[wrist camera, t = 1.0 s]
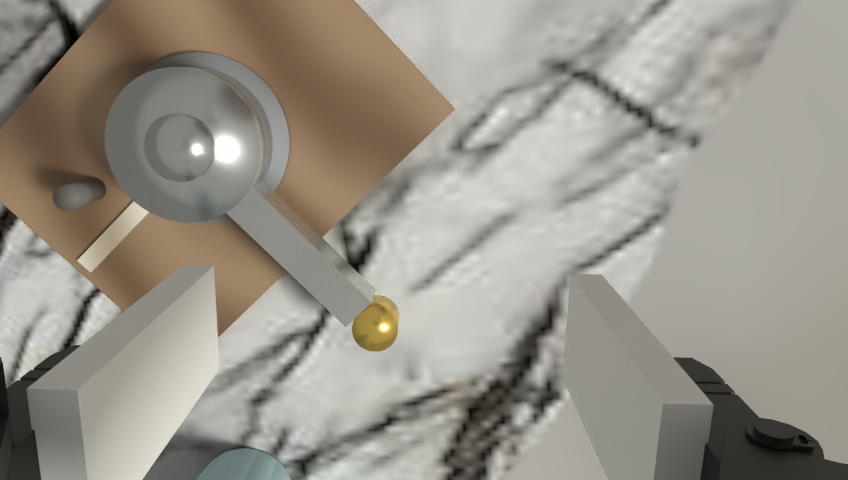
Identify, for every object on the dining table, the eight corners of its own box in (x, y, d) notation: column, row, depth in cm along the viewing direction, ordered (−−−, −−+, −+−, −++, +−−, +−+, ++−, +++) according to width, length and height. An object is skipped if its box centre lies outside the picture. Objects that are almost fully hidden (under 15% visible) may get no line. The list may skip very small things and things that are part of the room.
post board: (237, -126, 32) (210, -154, 28) (453, 108, 34) (457, 112, 30) (-21, 165, 35) (-77, 177, 31) (194, 358, 38) (167, 391, 34)
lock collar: (194, 35, 31) (169, 31, 28) (441, 283, 34) (443, 304, 31) (99, 138, 33) (65, 146, 30) (346, 370, 36) (338, 398, 33)
